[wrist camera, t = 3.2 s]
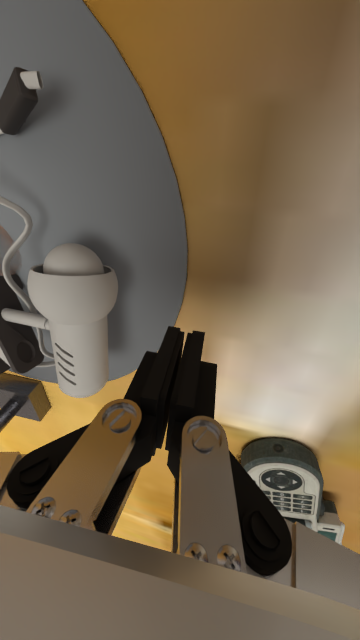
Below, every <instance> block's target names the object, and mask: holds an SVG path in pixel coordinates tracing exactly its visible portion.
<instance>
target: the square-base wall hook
mask: <svg viewBox="0 0 360 640" xmlns="http://www.w3.org/2000/svg"><path fill="white" fill-rule="evenodd" d="M0 408H1V409H0V432H1V431H2V430H3V429H4V427H5V426H6V425H7V424H8V423H9V422H10V421H11V419H12V418H13V417H14V416H15V415H16V416H20V417H24V418H28V419H32V420H36V421H41V420H42V419H43V417H44V416H45V415H46V413H47V412H48V411H49V409H50V408H51V406H50V403H49V401H48V398H47V396H46V393H45V391H44V388H43V386H42V383H41V381H37V380H32V379H28V378H23V377H19V376H14V375H10V374H5V373H1V374H0Z"/></svg>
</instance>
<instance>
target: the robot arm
mask: <svg viewBox="0 0 360 640" xmlns="http://www.w3.org/2000/svg"><path fill="white" fill-rule="evenodd" d="M204 335H205V332H199V331H194V330H193V333H188V334H187V338H186V342H185V346H184V350H183V354H182V348H183V340H184V332H181V331H180V328H177V327H171V326H168V329H167V331H166V334H165V336H164V339H163V341H162V344H161V346H160V349H159V351H158V353H156V352H151V351H146V353H145V354H144V356H143V359H142V361H141V363H140V365H139V367H138V369H137V371H136V374H135V376H134V378H133V380H132V382H131V384H130V386H129V388H128V391H127V393H126V395H125V397H124V399H117V400H114V401H111V402H109V403H108V404H106V405H105V406H104V407H103V408H102V409H101V410H100V412H99V413H98V414H97V416H96V417H95V418H94V420H93V421H92V422H91V423H90V424H88V425H86V426H84V427H82V428H80V429H78V430H75V431H73V432H71V433H69V434H67V435H65V436H63V437H61V438H59V439H57V440H55V441H52V442H50V443H48V444H46V445H44V446H42V447H40V448H38V449H36V450H34V451H32V452H30V453H29V454H20V452H0V640H360V555H359V554H358V553H356V552H354V551H352V550H350V549H348V548H346V547H344V546H342V545H340V544H338V543H337V542H335V541H333V540H331V539H329V538H327V537H325V536H323V535H321V534H319V533H317V532H316V531H314V530H312V529H310V528H308V527H306V526H304V525H302V524H300V523H298V522H297V521H296V522H295V523H292V522H290V521H289V520H287V519H285V518H283V517H282V515H281V514H280V512H279V511H278V510H277V508H276V507H275V506H274V505H273V503H272V502H271V501H270V500H269V499H268V497H267V496H266V495H265V494H264V492H263V491H262V490H261V489H260V488H259V486H258V485H257V484H256V483H255V481H254V480H253V479H252V478H251V476H250V475H249V474H248V473H247V472H246V470H245V469H244V468H243V467H242V465H241V464H240V463H239V462H238V461H237V459H236V458H235V457H234V456H233V454H232V453H231V452H230V451H229V449H228V442H227V437H226V433H225V431H224V429H223V427H222V426H221V425H220V424H219V423H218V422H217V421H216V420H214V410H215V393H216V375H217V364H213V363H208V362H203V361H201V355H202V348H203V341H204ZM181 356H182V358H181ZM167 423H168V428H167V437H166V447H165V450H168V451H169V454H168V462H167V466H168V467H169V469H170V471H171V472H172V474H173V476H174V498H173V521H172V544H171V552H168V551H165V550H161V549H158V548H154V547H150V546H147V545H143V544H140V543H136V542H133V541H129V540H125V539H122V538H118V537H115V536H111V535H112V533H113V530H114V528H115V526H116V524H117V522H118V519H119V517H120V515H121V513H122V510H123V508H124V506H125V504H126V501H127V499H128V497H129V495H130V492H131V490H132V488H133V486H134V483H135V481H136V479H137V477H138V475H139V472H140V469H141V467H142V466H143V465H145V464H146V463H148V462H149V461H150V460H151V457H152V456H154V455H155V451H156V448H160V449H161V447H162V444H163V440H164V436H165V432H166V427H167Z"/></svg>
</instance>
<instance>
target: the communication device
mask: <svg viewBox="0 0 360 640" xmlns="http://www.w3.org/2000/svg"><path fill="white" fill-rule="evenodd" d="M241 465H242V467H243V468H244V469H245V470H246V472H247V473H248V474H249V475H250V476H251V478H252V479H253V480H254V481H255V483H256V484H257V485H258V486H259V488H260V489H261V490H262V491H263V492H264V494H265V495H266V496H267V497H268V499H269V500H270V501H271V502H272V503H273V505H274V506H275V507H276V508H277V510H278V511H279V512H280V514H281V515H282V517H283V518H285V519H287V520H289V521H290V522H292V523H295V522H296V521H297V522H298V523H300V524H302V525H304V526H306V527H308V528H310V529H312V530H314V531H316V532H317V533H319V534H321V535H323V536H325V537H327V538H329V539H331V540H333V541H335V542H337V543H338V544H340V545H342V543H341V541H342V537H343V533H344V529H345V525H344V523H342V522H340V520H339V517H338V514H337V511H336V507H335V504H334V502H332V501H329V500H323V497H322V491H323V478H322V474H321V471H320V468H319V465H318V461H317V459H316V457H315V455H314V454H313V453H312V452H311V451H310V450H308V449H307V448H306V447H304V446H303V445H301V444H299V443H297V442H295V441H292V440H288V439H282V438H264V439H259V440H256V441H254V442H252V443H250V444H249V445H248V446H247V447H246V448H245V449H244V450H243V451H242V454H241Z"/></svg>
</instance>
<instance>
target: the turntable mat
mask: <svg viewBox="0 0 360 640" xmlns="http://www.w3.org/2000/svg"><path fill="white" fill-rule="evenodd" d="M14 67H20V68H23V69H25V70H28V71H39V72H40V74H41V77H42V82H43V89H36V92H37V96H38V102H37V104H36V105H35V107H34V109H33V110H32V111H31V113H30V114H29V116H28V117H27V119H26V123H25V122H24V123H23V125H22V127H21V128H20V130H19V131H18V133H17V134H16V135H9V134H1V135H0V196H1V197H4V198H5V199H7V200H9V201H11V202H13V203H15V204H17V205H19V206H20V207H22V208H23V209H24V210H25V211H26V212H27V213H28V214H29V215H30V216H31V219H32V222H33V226H32V230H31V233H30V234H29V236H28V237H27V239H26V240H25V242H24V243H23V244H22V245H21V247H20V248H19V249H18V250H17V252H16V253H15V254H14V256H13V258H12V259H11V262H10V265H9V271H10V274H17V275H18V276H19V277H20V280H21V282H22V284H23V289H22V291H23V292H24V293H25V294H26V295H27V296H28V297H29V293H28V286H27V282H28V274H29V271H30V268H31V267H32V266H35V265H39V264H44V261H45V258H46V256H47V254H48V253H49V252H50V251H51V250H52V249H54V248H55V247H57V246H59V245H62V244H67V243H75V244H80V245H83V246H85V247H87V248H89V249H91V250H92V251H93V252H94V253H95V254H96V255H97V256H98V257H99V259H100V260H101V262H102V264H103V265H106V266H109V267H111V268H113V269H114V271H115V274H116V277H117V280H118V294H117V298H116V302H115V304H114V307H113V308H112V310H111V311H110V312H109V313H108V314H107V324H108V368H109V379H108V381H111V380H114V379H118V378H120V377H122V376H125V375H127V374H129V373H131V372H133V371H134V370H136V369H138V367H139V365H140V363H141V361H142V359H143V356H144V354H145V353H146V351H151V352H156V353H157V351H158V350H159V349H160V346H161V344H162V341H163V339H164V336H165V334H166V331H167V329H168V326H171V327H173V326H174V325H175V322H176V319H177V316H178V313H179V310H180V307H181V305H182V301H183V295H184V290H185V284H186V279H187V254H188V249H187V237H186V226H185V216H184V212H183V207H182V202H181V197H180V193H179V188H178V183H177V179H176V176H175V173H174V170H173V167H172V164H171V161H170V158H169V155H168V152H167V148H166V145H165V142H164V139H163V137H162V134H161V132H160V130H159V128H158V126H157V123H156V121H155V119H154V117H153V115H152V112H151V110H150V108H149V106H148V103H147V101H146V99H145V97H144V95H143V92H142V90H141V89H140V87H139V85H138V84H137V82H136V80H135V78H134V77H133V75H132V73H131V72H130V70H129V68H128V67H127V65H126V63H125V61H124V60H123V58H122V56H121V55H120V53H119V51H118V49H117V48H116V46H115V44H114V43H113V41H112V40H111V39H110V37H109V36H108V34H107V33H106V32H105V30H104V29H103V28H102V26H101V25H100V24H99V22H98V21H97V20H96V18H95V17H94V16H93V14H92V13H91V12H90V10H89V9H88V7H87V6H86V5H85V3H84V2H83V1H82V0H0V98H1V96H2V94H3V92H4V89H5V87H6V85H7V83H8V80H9V78H10V76H11V74H12V71H13V69H14ZM25 226H26V224H25V221H24V218H23V217H22V216H20V215H19V214H18V213H17V212H15V211H14V210H12V209H10V208H8V207H6V206H4V205H2V204H0V276H4V275H3V272H2V263H3V258H4V256H5V254H6V253H7V251H8V250H9V248H10V247H11V246H12V245H13V244H14V242H15V241H16V240H17V239H18V238H19V237H20V235H21V234H22V233H23V231H24V229H25ZM16 295H17V294H16ZM17 297H18V299H19V301H20V303H21V306H22V308H23V310H24V312H29V313H31V312H30V310H29V308H28V307H27V305H26V304H25V303H24V301H23V300H22V299H21V298H20V297H19V296H18V295H17ZM29 299H30V297H29ZM30 300H31V299H30ZM31 302H32V301H31ZM34 307H35V306H34ZM35 309H36V308H35ZM36 311H37V314H39V315H42V314H41V313H40V312H39V311H38V310H37V309H36ZM31 327H32V329H33V331H34V333H35V336H36V338H37V340H38V334H37V329H36V327H33V326H31ZM42 332H43V340H44V346H45V349H46V350H47V351H48V352H50V353H52V354H53V347H52V341H51V335H50V330H46V329H42ZM38 342H39V341H38ZM49 361H54V359H52V358H49V357H46V356H45V355H44V360H43V362H49ZM8 370H9V371H12V372H14V371H13V370H12V369H11V368H10V369H8ZM21 375H23V376H26V377H30V378H34V379H38V380H42V381H47V382H52V383H58V379H57V373H56V366H49V367H34V368H33V369H31V370H29V371H28V372H26V373H23V374H21Z"/></svg>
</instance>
